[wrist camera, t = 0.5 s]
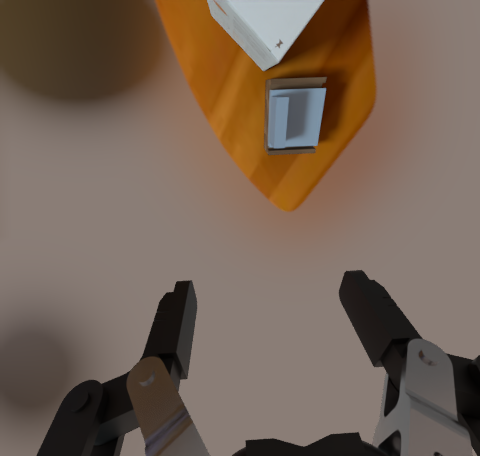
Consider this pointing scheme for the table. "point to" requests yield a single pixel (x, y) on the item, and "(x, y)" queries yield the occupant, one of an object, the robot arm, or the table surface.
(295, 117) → the lid
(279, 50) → the small box
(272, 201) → the table surface
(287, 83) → the case
